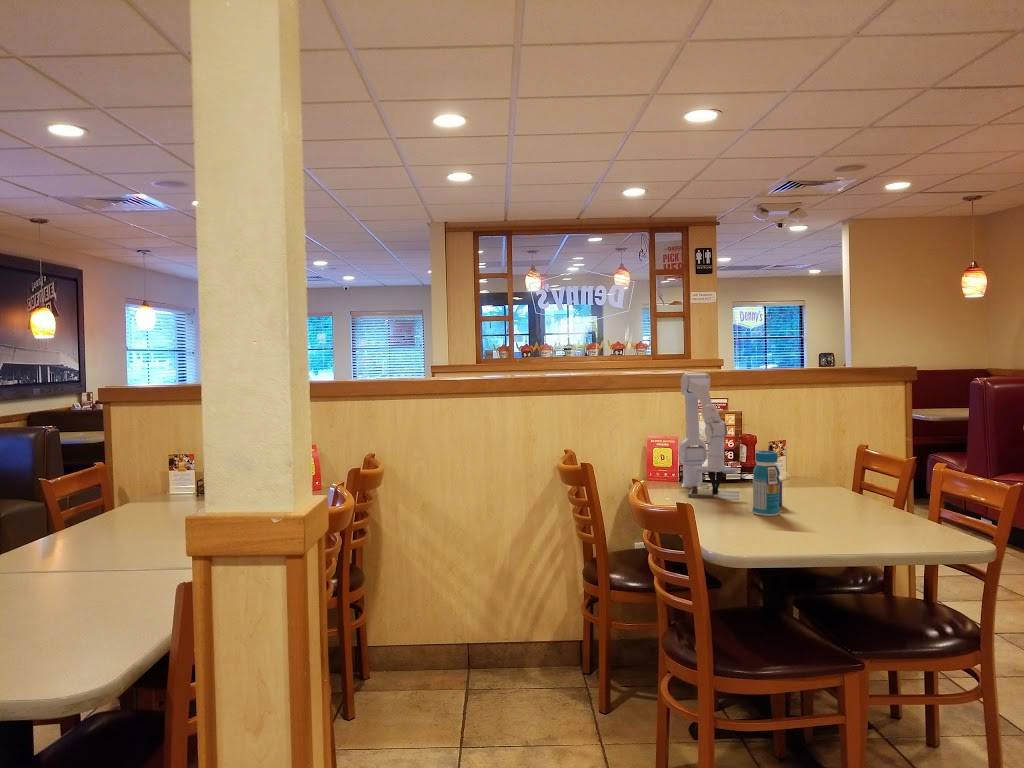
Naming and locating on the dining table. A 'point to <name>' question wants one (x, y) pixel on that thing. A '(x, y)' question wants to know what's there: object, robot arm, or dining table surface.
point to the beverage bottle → (766, 484)
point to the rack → (721, 494)
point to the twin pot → (704, 484)
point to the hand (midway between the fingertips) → (715, 493)
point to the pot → (705, 490)
